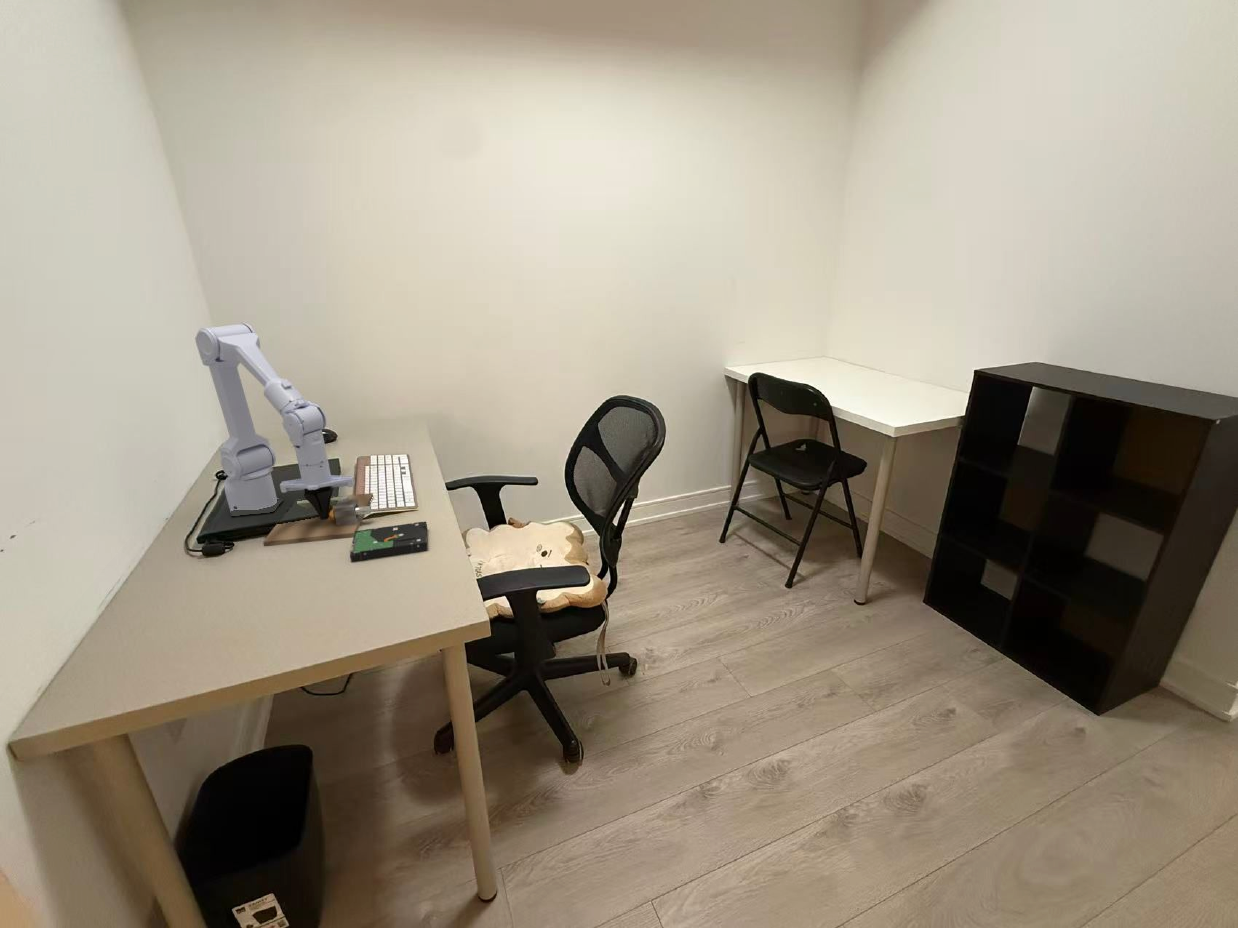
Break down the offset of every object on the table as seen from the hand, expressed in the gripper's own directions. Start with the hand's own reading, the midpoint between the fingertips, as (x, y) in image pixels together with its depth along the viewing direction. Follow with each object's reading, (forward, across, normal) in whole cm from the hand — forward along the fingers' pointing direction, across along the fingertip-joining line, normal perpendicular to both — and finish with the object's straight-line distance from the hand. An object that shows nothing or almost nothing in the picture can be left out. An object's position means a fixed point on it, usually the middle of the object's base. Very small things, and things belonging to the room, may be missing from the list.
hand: (325, 517), depth 128 cm
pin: (+1, +6, 0) cm, 6 cm away
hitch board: (+2, -2, +4) cm, 5 cm away
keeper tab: (-1, -2, +6) cm, 6 cm away
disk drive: (+3, +16, -12) cm, 20 cm away
